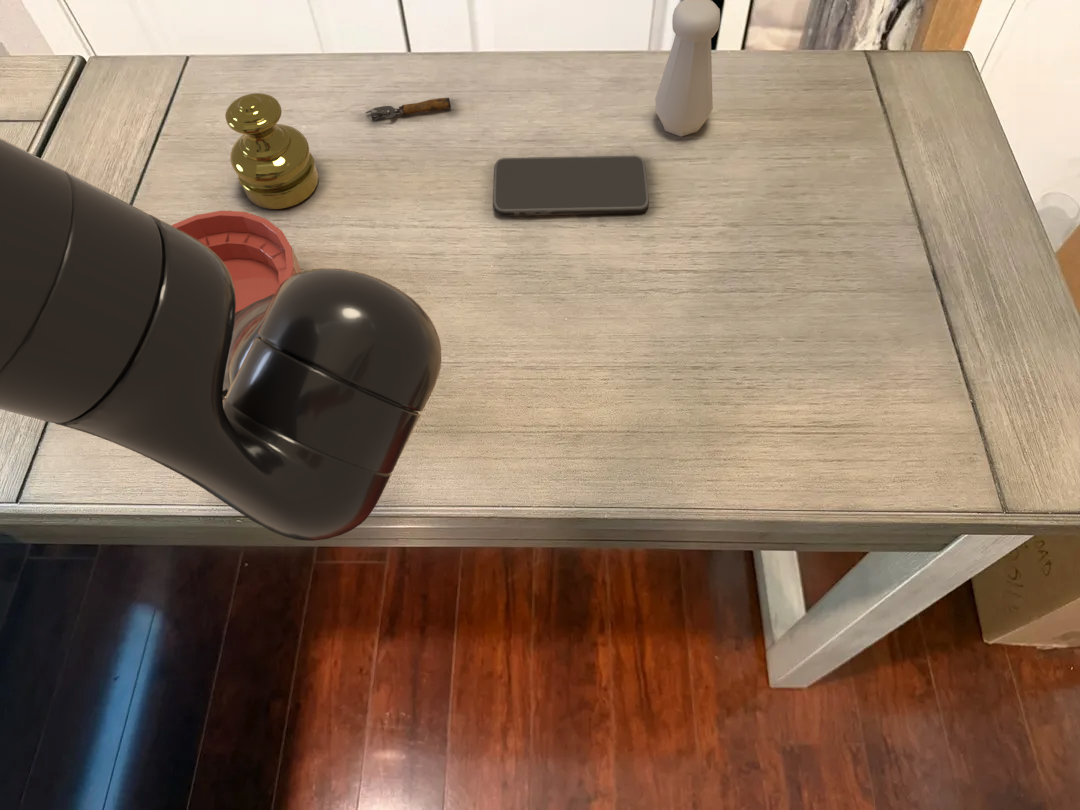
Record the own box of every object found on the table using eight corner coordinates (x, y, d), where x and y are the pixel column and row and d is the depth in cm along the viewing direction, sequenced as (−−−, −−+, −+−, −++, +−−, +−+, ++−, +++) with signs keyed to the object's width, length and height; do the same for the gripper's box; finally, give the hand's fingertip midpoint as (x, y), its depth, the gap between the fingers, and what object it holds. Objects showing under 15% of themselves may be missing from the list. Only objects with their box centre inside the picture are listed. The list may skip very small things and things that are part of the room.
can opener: (451, 103, 86) (449, 94, 85) (451, 118, 85) (450, 109, 84) (366, 110, 86) (363, 101, 85) (365, 125, 85) (363, 116, 84)
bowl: (252, 396, 69) (231, 363, 65) (118, 343, 72) (89, 309, 68) (337, 274, 75) (323, 237, 71) (211, 230, 79) (190, 193, 74)
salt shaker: (719, 133, 83) (742, 17, 72) (668, 148, 82) (684, 33, 71) (692, 97, 86) (711, -20, 75) (643, 112, 85) (655, -4, 74)
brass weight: (306, 215, 79) (274, 134, 71) (234, 207, 80) (194, 126, 71) (329, 161, 83) (301, 78, 74) (259, 154, 84) (224, 71, 75)
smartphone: (650, 209, 77) (492, 211, 77) (649, 215, 78) (493, 218, 78) (644, 153, 81) (493, 156, 81) (643, 160, 82) (494, 163, 82)
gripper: (368, 249, 48) (330, 255, 64) (138, 363, 44) (158, 340, 60) (426, 360, 50) (375, 339, 66) (211, 478, 47) (212, 426, 62)
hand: (272, 340), depth 63 cm, fingers closed on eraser, 3 cm apart
